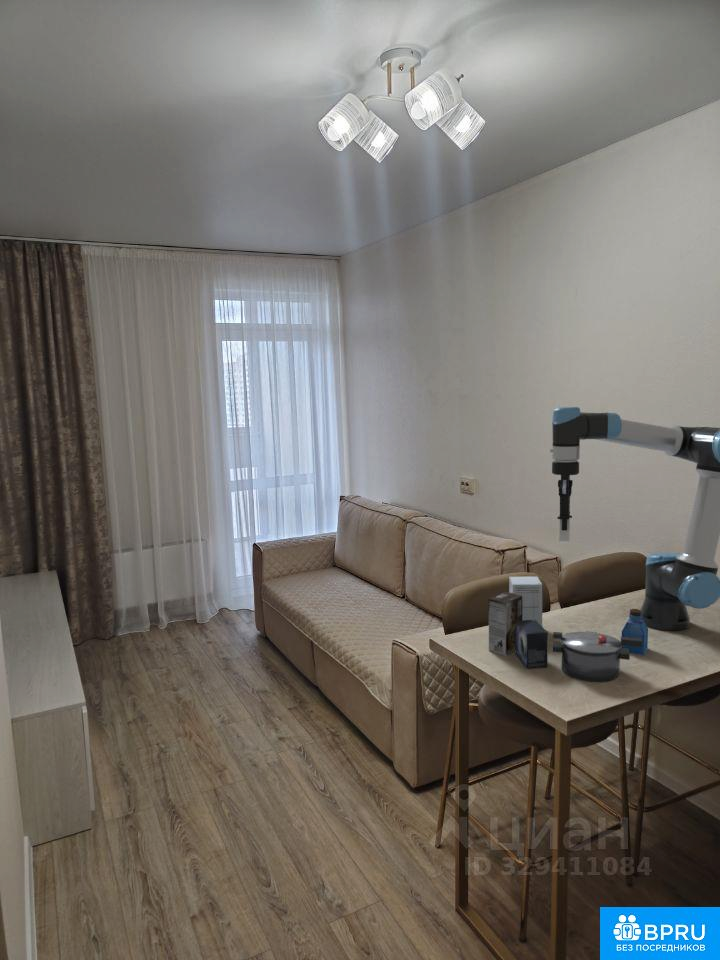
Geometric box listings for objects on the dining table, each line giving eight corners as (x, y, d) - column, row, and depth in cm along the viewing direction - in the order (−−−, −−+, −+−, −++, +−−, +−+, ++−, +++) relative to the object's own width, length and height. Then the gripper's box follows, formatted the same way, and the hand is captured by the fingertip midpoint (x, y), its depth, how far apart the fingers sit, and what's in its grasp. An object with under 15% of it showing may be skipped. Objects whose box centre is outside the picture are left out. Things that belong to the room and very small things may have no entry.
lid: (640, 638, 182) (640, 630, 182) (643, 658, 167) (643, 649, 167) (555, 630, 190) (555, 622, 190) (551, 649, 175) (551, 640, 174)
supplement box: (538, 626, 215) (538, 576, 213) (543, 636, 206) (543, 584, 204) (508, 625, 216) (508, 575, 214) (512, 636, 207) (512, 584, 204)
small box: (513, 654, 192) (513, 620, 191) (535, 653, 192) (535, 618, 191) (525, 669, 181) (525, 632, 180) (548, 668, 182) (549, 631, 181)
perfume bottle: (643, 655, 189) (645, 615, 187) (621, 651, 192) (622, 612, 191) (647, 648, 194) (648, 609, 193) (625, 644, 197) (626, 606, 196)
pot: (627, 662, 184) (628, 638, 184) (629, 686, 169) (630, 660, 168) (554, 654, 191) (555, 631, 190) (550, 677, 176) (551, 652, 175)
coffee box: (504, 642, 202) (504, 591, 200) (523, 647, 197) (523, 595, 195) (487, 650, 195) (487, 598, 193) (506, 656, 191) (506, 602, 189)
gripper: (553, 458, 198) (552, 535, 200) (550, 462, 185) (549, 544, 188) (579, 458, 195) (578, 536, 198) (578, 463, 183) (577, 546, 186)
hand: (564, 540), depth 193 cm, fingers closed
